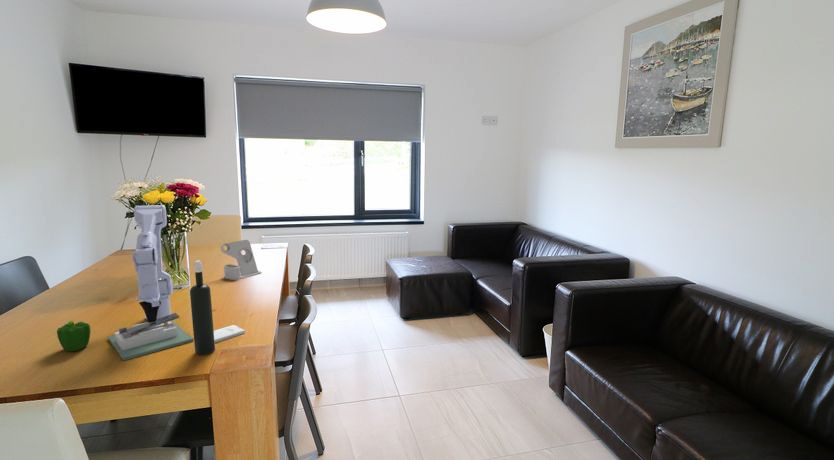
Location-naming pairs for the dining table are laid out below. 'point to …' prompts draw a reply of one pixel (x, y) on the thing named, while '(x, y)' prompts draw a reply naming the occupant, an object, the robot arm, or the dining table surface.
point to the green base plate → (148, 340)
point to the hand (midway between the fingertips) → (152, 321)
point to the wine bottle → (202, 314)
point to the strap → (151, 324)
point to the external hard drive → (227, 333)
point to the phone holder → (240, 260)
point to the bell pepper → (74, 335)
